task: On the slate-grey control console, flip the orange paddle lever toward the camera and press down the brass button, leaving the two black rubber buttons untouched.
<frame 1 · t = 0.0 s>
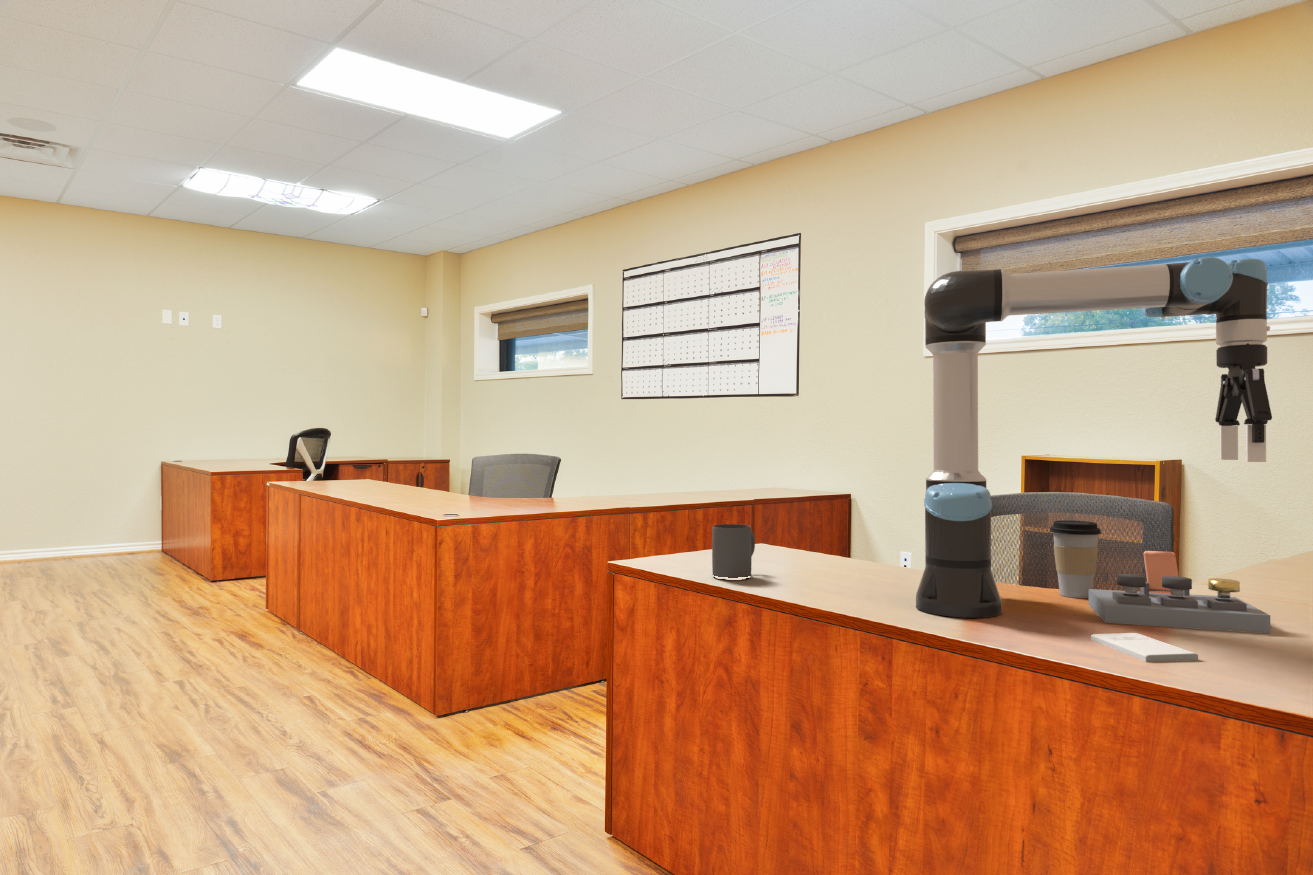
hand: (1241, 461, 145), 28 cm above the table, fingers open, 13 cm apart
black button left: (1131, 584, 141), point 6 cm above the table, slide at 0.0 cm
mug: (737, 577, 185), on the table
coffee cup: (1075, 596, 162), on the table
brass button: (1223, 588, 136), point 6 cm above the table, slide at 0.0 cm
black button mid: (1176, 586, 138), point 6 cm above the table, slide at 0.0 cm
external hard drive: (1142, 654, 120), on the table
paddle lever: (1161, 570, 148), point 7 cm above the table, hinge at -30.0°
control panel: (1172, 617, 141), on the table
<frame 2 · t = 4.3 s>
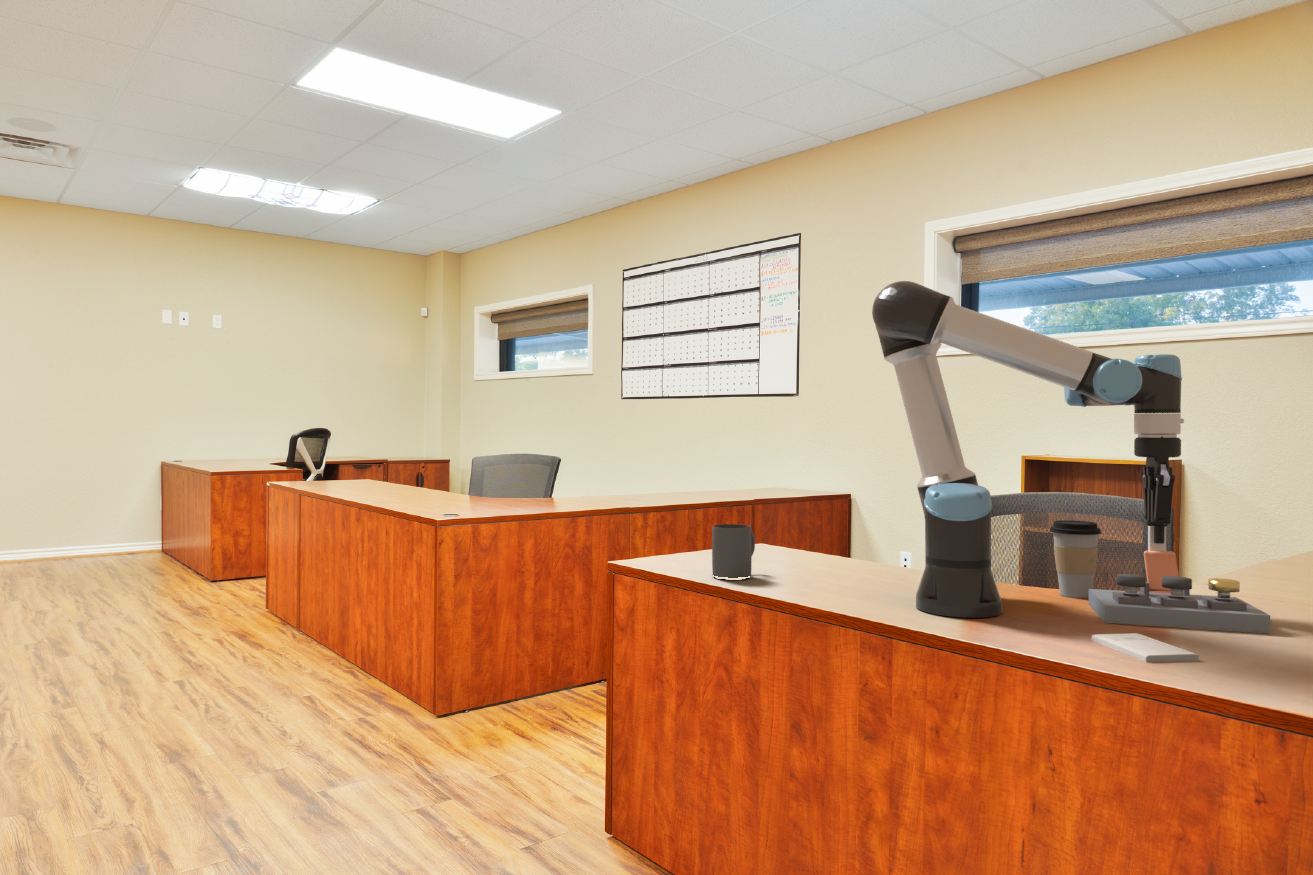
hand: (1157, 559, 150), 9 cm above the table, fingers closed
paddle lever: (1161, 570, 148), point 7 cm above the table, hinge at -28.4°, touching gripper
everything else where it was.
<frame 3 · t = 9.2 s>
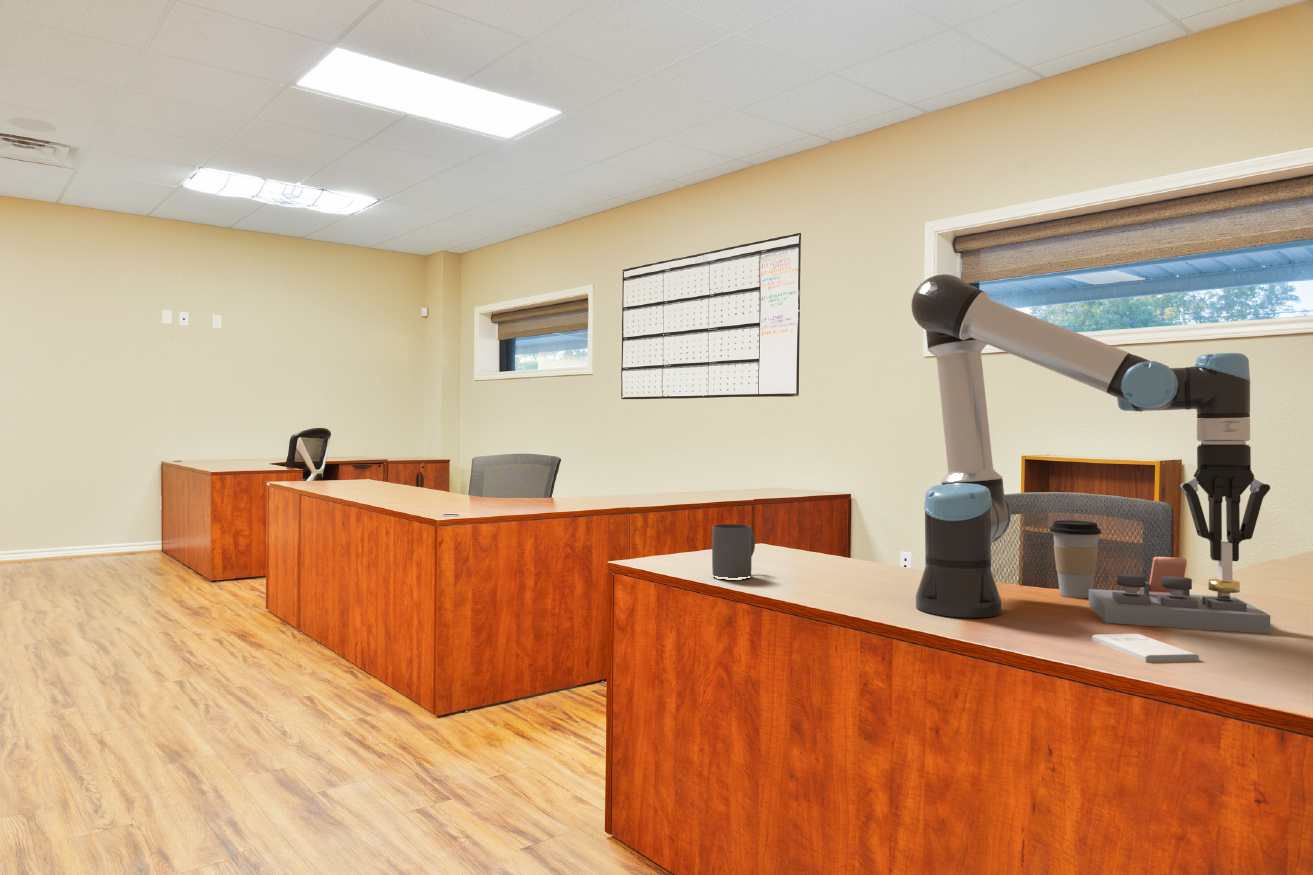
hand: (1224, 579, 136), 8 cm above the table, fingers closed
brass button: (1223, 589, 136), point 6 cm above the table, slide at 0.1 cm, touching gripper
paddle lever: (1167, 574, 144), point 7 cm above the table, hinge at 31.2°
everything else where it was.
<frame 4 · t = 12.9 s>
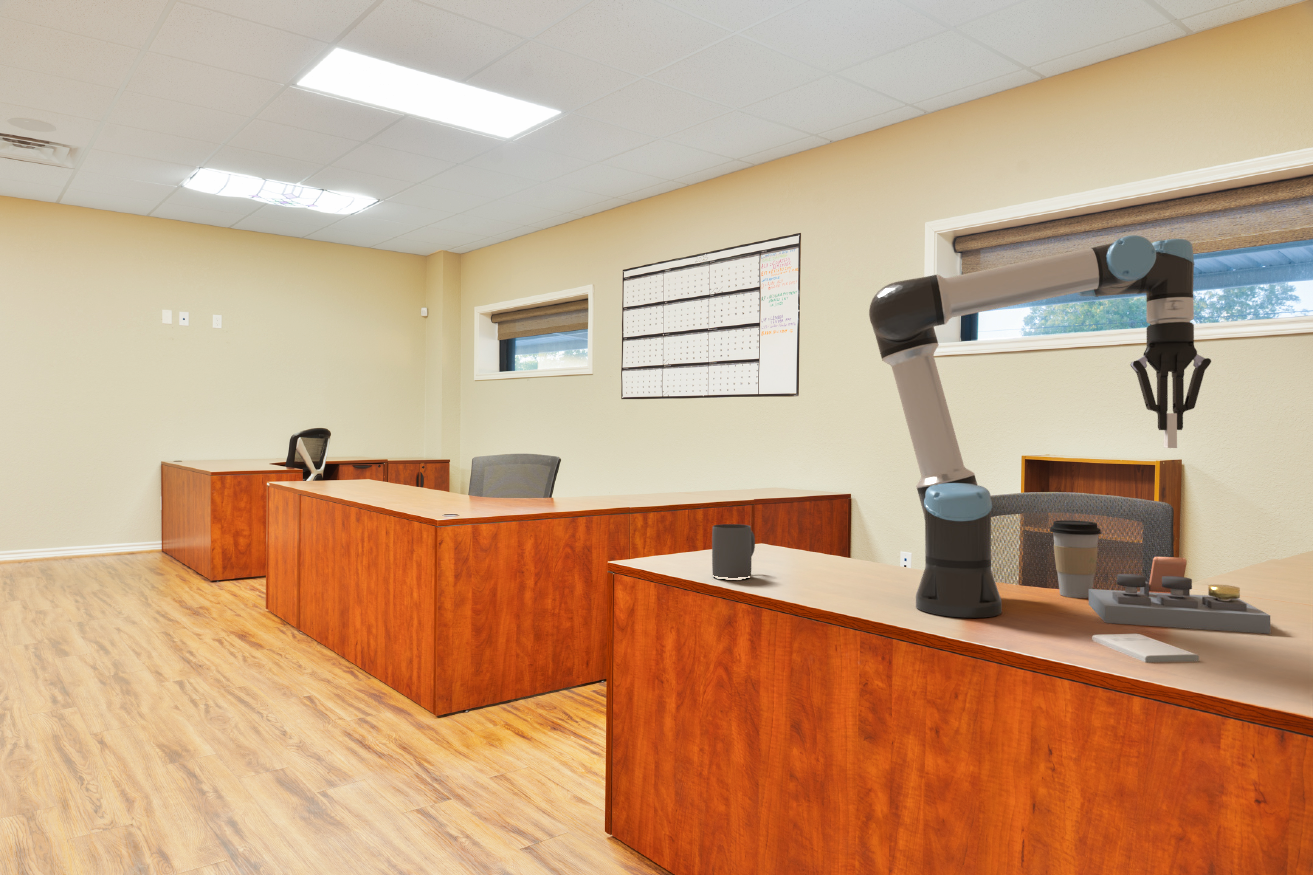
hand: (1170, 447, 149), 30 cm above the table, fingers closed
brass button: (1223, 595, 136), point 5 cm above the table, slide at 1.1 cm
everything else where it was.
at the end: paddle lever at +31° (first picture: -30°); brass button slide at 1.1 cm; black button mid slide at 0.0 cm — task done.
